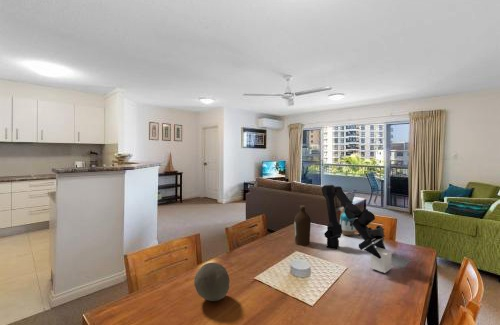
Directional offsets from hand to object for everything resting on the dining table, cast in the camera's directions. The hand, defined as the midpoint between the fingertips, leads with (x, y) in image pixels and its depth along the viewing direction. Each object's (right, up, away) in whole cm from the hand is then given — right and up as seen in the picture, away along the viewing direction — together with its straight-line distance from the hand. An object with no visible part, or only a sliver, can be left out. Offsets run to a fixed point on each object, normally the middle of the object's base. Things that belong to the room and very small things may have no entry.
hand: (383, 256), depth 125 cm
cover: (-1, -7, +1) cm, 7 cm away
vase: (+3, -5, +55) cm, 55 cm away
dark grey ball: (-83, -10, -22) cm, 87 cm away
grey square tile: (+12, -7, +13) cm, 19 cm away
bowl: (-1, -8, +2) cm, 8 cm away
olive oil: (-33, -6, +40) cm, 52 cm away
